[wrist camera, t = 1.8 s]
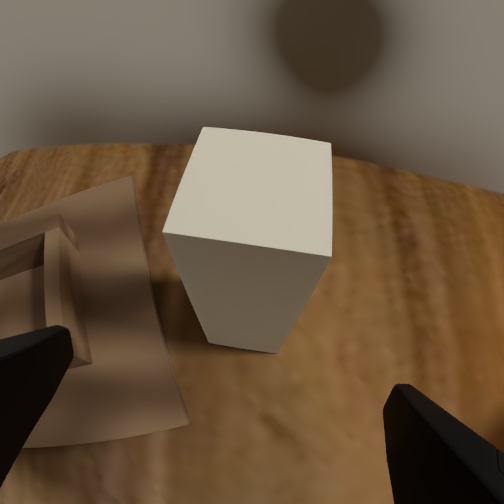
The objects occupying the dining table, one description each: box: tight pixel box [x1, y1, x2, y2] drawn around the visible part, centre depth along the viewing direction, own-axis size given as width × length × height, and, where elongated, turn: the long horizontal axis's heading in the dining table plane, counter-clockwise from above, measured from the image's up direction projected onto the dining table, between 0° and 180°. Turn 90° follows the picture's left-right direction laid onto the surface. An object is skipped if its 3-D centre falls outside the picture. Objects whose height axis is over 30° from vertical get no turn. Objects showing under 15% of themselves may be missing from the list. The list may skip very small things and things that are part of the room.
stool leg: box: [163, 127, 332, 354], centre depth 15 cm, size 4×4×13 cm
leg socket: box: [0, 175, 191, 448], centre depth 17 cm, size 20×20×4 cm
